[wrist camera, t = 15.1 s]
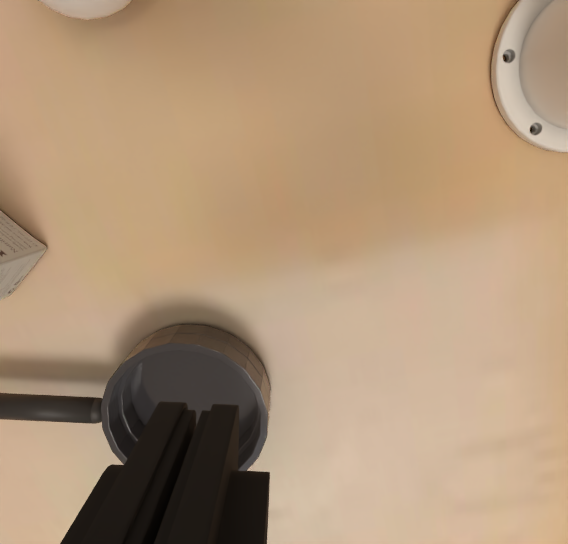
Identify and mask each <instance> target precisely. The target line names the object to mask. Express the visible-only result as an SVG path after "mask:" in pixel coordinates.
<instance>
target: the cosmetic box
mask: <svg viewBox="0 0 568 544" xmlns="http://www.w3.org/2000/svg"><path fill="white" fill-rule="evenodd" d="M46 250H47V247H46V246H45V245H44V244H42V243H41V242H39V241H38V240H36V239H35V238H33V237H32V236H31V235H30V234H28V233H27V232H26V231H25V230H23V229H22V228H21V227H20V226H18V225H17V224H16V223H15V222H14V221H12V220H11V219H10V218H9V217H8V216H6V215H5V214H4V213H3V212H2V211H1V210H0V300H1V299H4V298H6V297H8V296H10V295H11V294H12V293H13V291H14V290H15V289H16V288H17V286H18V285H19V284H20V283H21V281H22V280H23V279H24V277H25V276H26V275H27V274H28V272H29V271H30V270H31V269H32V267H33V266H34V265H35V264H36V262H37V261H38V260H39V259H40V257H41V256H42V255H43V254H44V252H45V251H46Z"/></svg>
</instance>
